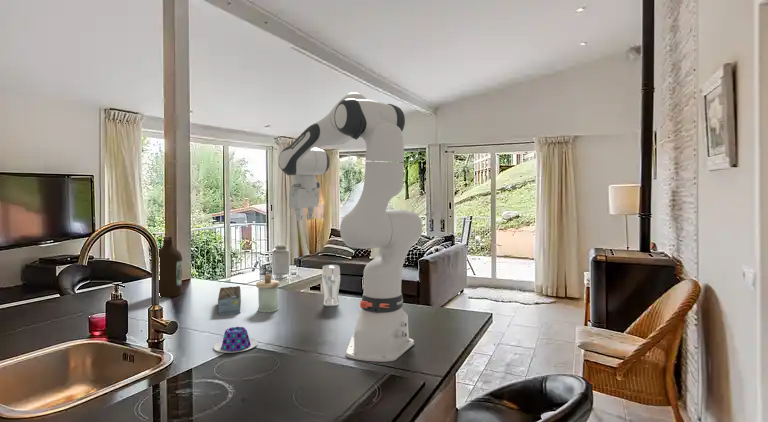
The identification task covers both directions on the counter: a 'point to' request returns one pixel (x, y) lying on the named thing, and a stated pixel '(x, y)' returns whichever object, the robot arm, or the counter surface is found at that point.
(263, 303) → the canister
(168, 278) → the olive oil
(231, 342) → the purple patterned hat
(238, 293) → the beverage carton
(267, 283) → the lid
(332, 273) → the beer glass
